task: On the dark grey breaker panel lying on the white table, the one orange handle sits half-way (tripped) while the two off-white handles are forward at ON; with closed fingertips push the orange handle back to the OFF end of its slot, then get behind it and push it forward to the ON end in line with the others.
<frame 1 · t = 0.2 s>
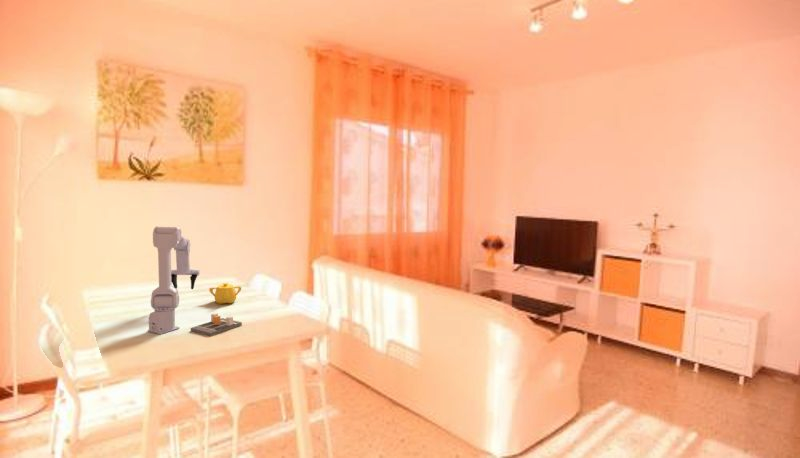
hand: (184, 288, 218), 11 cm above the table, tool pointing down, fingers open, 7 cm apart
tripped breaker: (216, 320, 192), point 4 cm above the table, slide at 0.0 cm
teapot: (225, 302, 235), on the table
panel: (216, 328, 193), on the table
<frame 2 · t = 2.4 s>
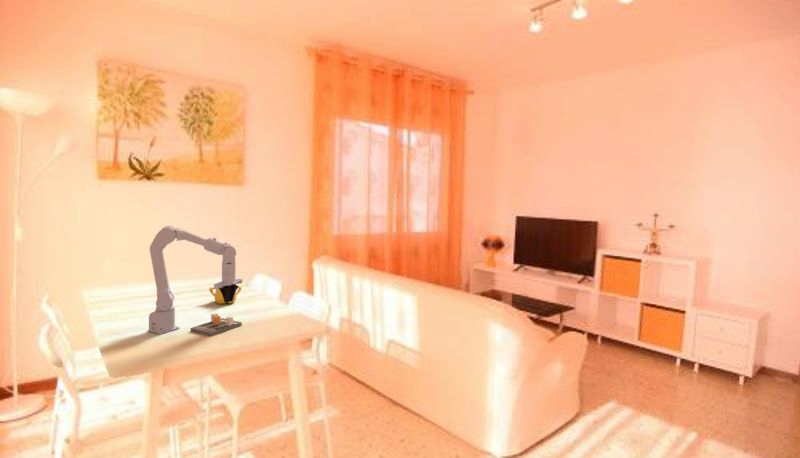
hand: (228, 301, 198), 10 cm above the table, tool pointing down, fingers closed
nothing on the table moved.
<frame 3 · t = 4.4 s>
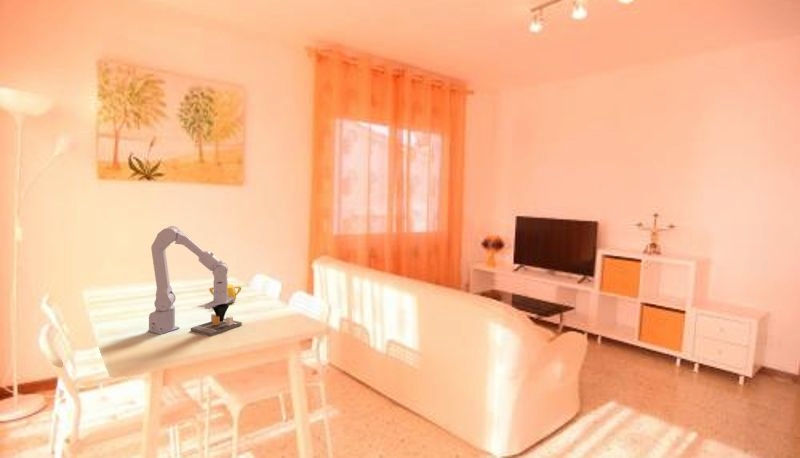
hand: (220, 321, 194), 3 cm above the table, tool pointing down, fingers closed
tripped breaker: (216, 320, 192), point 4 cm above the table, slide at -0.5 cm, touching gripper
everything else where it was.
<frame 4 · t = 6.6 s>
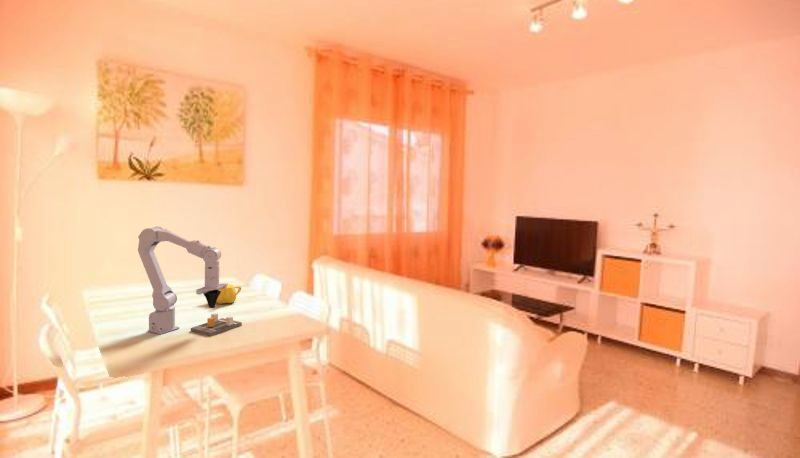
hand: (211, 307, 190), 10 cm above the table, tool pointing down, fingers closed
tripped breaker: (211, 322, 190), point 4 cm above the table, slide at -3.2 cm
everything else where it was.
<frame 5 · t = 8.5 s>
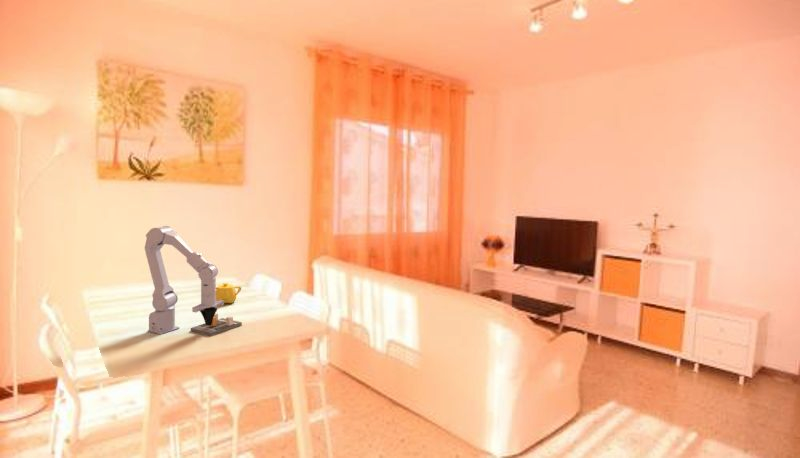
hand: (208, 324, 188), 3 cm above the table, tool pointing down, fingers closed
tripped breaker: (212, 321, 191), point 4 cm above the table, slide at -2.2 cm, touching gripper
everything else where it was.
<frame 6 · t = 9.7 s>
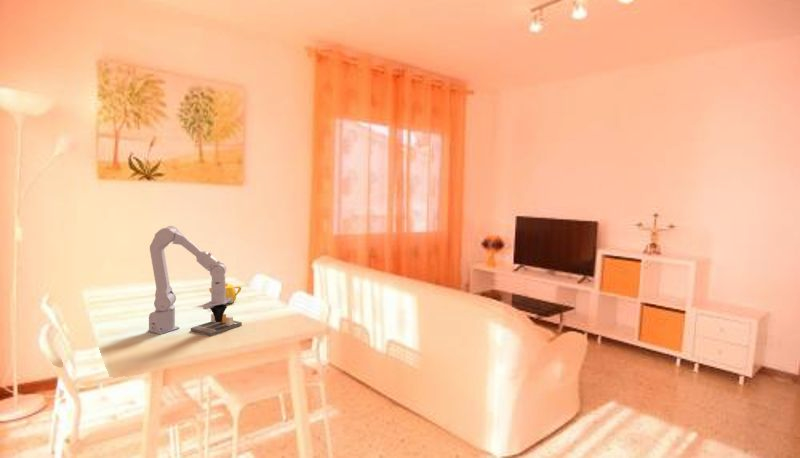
hand: (218, 321, 193), 3 cm above the table, tool pointing down, fingers closed
tripped breaker: (222, 318, 195), point 4 cm above the table, slide at 3.2 cm, touching gripper
everything else where it was.
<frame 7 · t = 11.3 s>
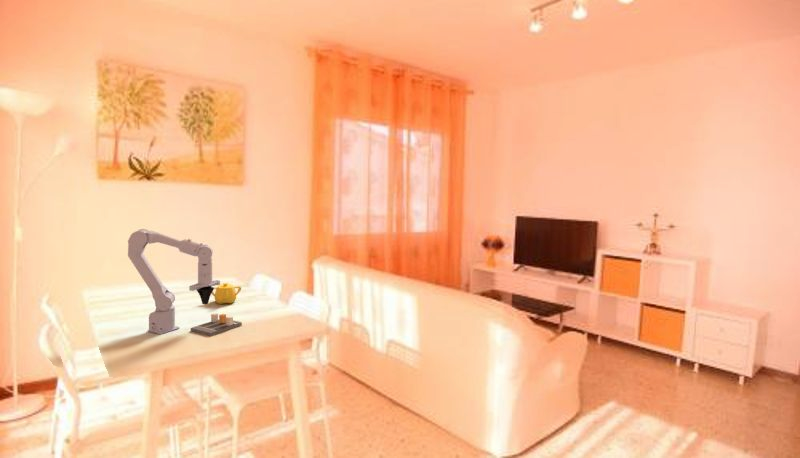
hand: (205, 303, 193), 10 cm above the table, tool pointing down, fingers closed
tripped breaker: (222, 318, 195), point 4 cm above the table, slide at 3.2 cm
everything else where it was.
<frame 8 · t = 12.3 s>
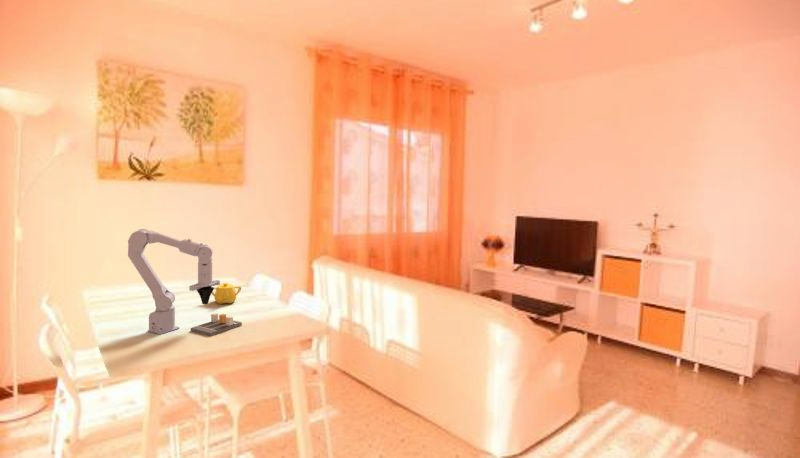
hand: (205, 303, 193), 10 cm above the table, tool pointing down, fingers closed
nothing on the table moved.
at the end: tripped breaker slide at 3.2 cm; tripped breaker touching nothing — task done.
